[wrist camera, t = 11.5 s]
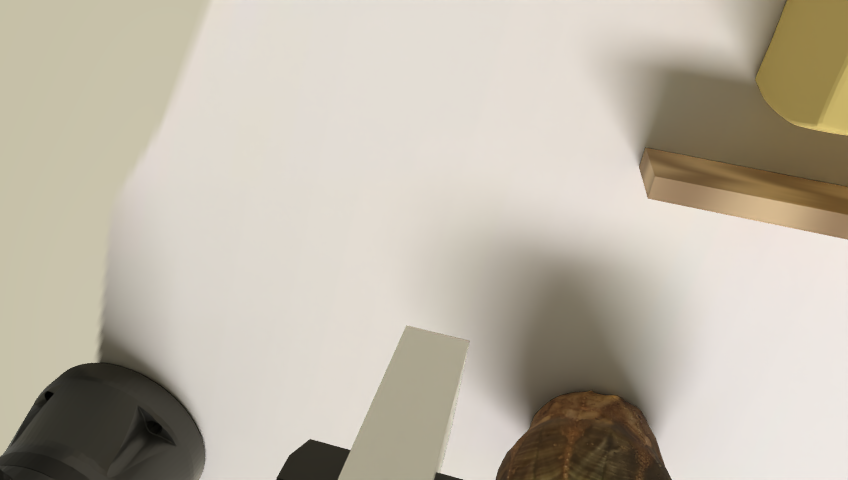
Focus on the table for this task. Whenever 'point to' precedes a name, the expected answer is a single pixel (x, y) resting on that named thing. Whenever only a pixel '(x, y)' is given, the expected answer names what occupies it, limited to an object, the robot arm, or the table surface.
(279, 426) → the table surface
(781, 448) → the table surface
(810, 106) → the cheese
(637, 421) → the shell
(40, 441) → the robot arm
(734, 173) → the corral
